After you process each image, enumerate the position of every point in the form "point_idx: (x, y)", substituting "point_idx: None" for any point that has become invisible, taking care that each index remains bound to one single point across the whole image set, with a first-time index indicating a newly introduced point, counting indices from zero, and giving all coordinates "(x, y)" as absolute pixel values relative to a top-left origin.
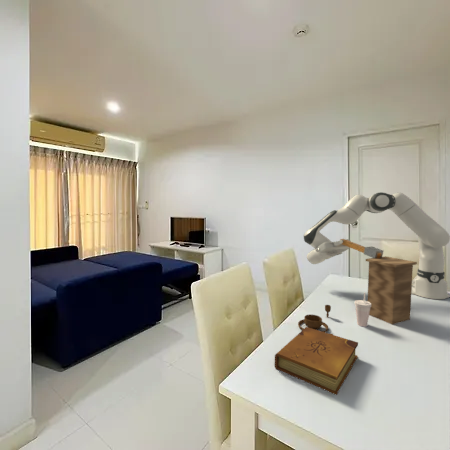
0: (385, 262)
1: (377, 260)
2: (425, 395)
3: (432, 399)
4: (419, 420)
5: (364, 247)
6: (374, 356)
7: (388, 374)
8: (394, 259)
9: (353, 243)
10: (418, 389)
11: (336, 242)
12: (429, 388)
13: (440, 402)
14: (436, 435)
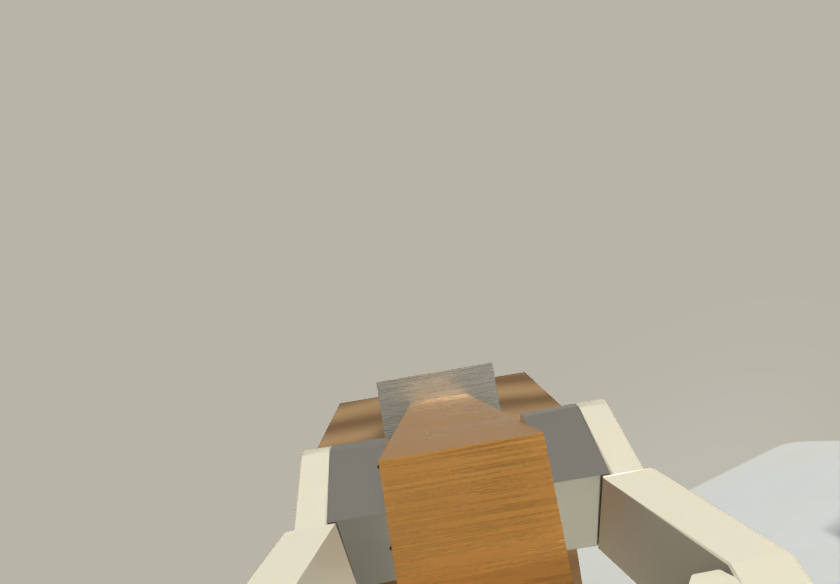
0: (525, 389)
1: (528, 407)
2: (749, 482)
3: (741, 478)
4: (802, 458)
5: (436, 401)
6: (815, 560)
7: (805, 515)
8: (377, 425)
9: (454, 409)
10: (753, 490)
11: (736, 547)
12: (724, 491)
13: (730, 475)
14: (790, 447)
